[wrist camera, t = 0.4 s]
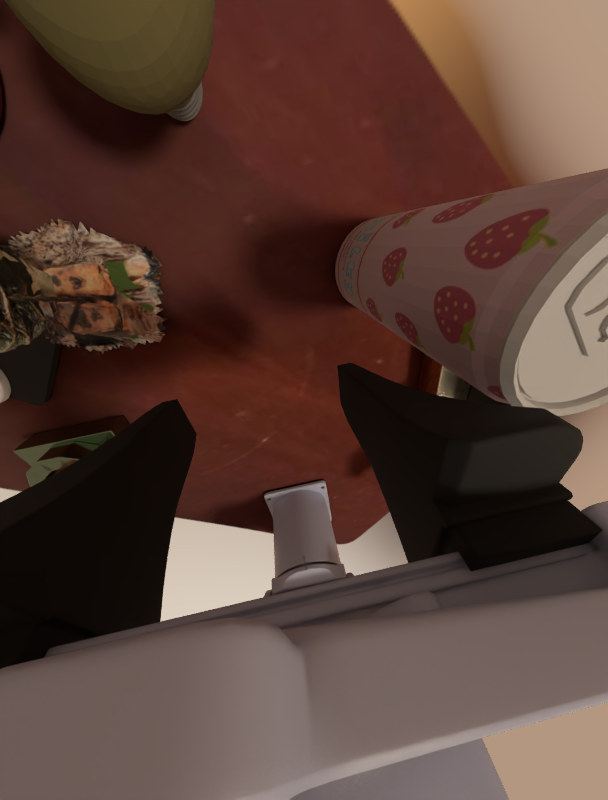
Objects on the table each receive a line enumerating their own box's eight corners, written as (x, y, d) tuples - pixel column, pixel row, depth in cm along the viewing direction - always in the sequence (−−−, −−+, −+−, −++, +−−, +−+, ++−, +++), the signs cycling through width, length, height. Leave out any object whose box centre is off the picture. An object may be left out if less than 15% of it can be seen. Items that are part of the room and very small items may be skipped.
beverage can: (350, 205, 15) (714, 47, 3) (422, 234, 17) (864, 210, 4) (323, 296, 18) (452, 410, 6) (387, 314, 20) (597, 435, 7)
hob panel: (485, 402, 27) (509, 419, 24) (407, 419, 27) (423, 438, 24) (517, 313, 21) (552, 323, 19) (418, 333, 21) (440, 346, 18)
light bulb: (93, -24, 10) (-743, -1331, 2) (230, 4, 11) (122, -781, 2) (137, 160, 13) (-84, 17, 5) (241, 172, 14) (209, 67, 6)
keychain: (-46, 379, 17) (-47, 241, 13) (-35, 374, 17) (-34, 241, 14) (43, 407, 19) (64, 294, 15) (49, 402, 20) (71, 292, 16)
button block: (161, 465, 25) (146, 499, 22) (86, 481, 25) (59, 517, 22) (123, 414, 21) (97, 446, 18) (33, 433, 21) (-9, 468, 18)
